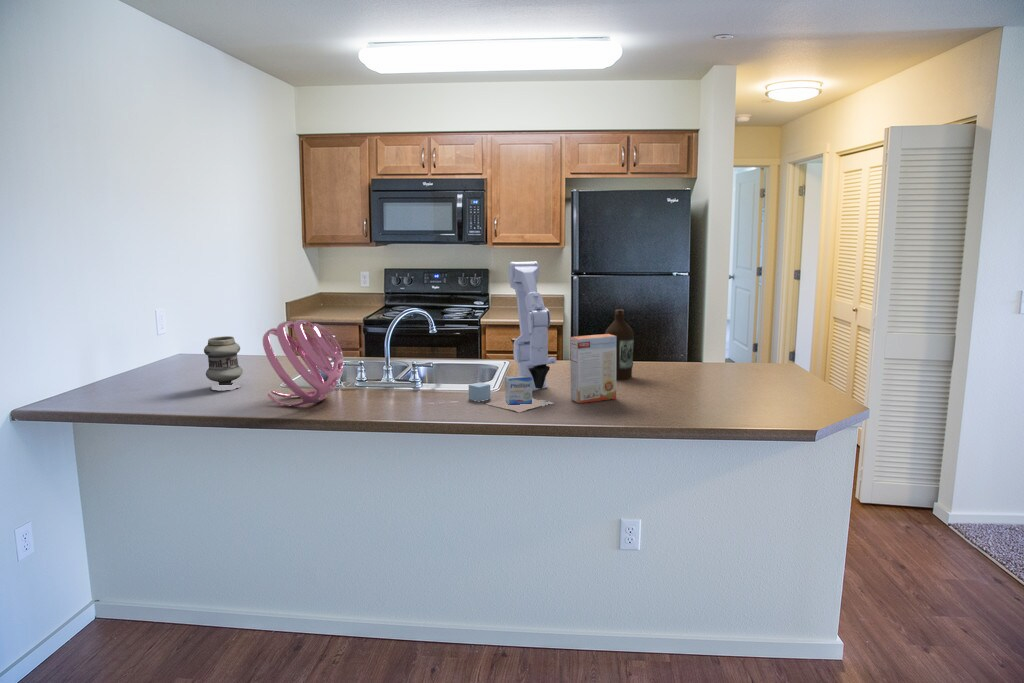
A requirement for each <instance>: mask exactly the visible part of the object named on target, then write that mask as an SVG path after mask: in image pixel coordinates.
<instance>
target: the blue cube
mask: <svg viewBox="0 0 1024 683" xmlns="http://www.w3.org/2000/svg"><path fill="white" fill-rule="evenodd" d="M469 399H472V400H476V401H482V400H486V399H490V400H491V384H489V383H484V382H475V383H471V384H468V400H469ZM472 400H471V401H472ZM476 401H475V402H476ZM486 401H487V400H486ZM482 402H483V401H482Z"/></svg>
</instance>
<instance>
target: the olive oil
mask: <svg viewBox="0 0 1024 683" xmlns="http://www.w3.org/2000/svg"><path fill="white" fill-rule="evenodd" d="M614 312H615V313H614V321H612V323H611V324H610V325H609V326H608V327H607V328H606V330H605V333H604V334H611V335H614V336H617V337H616V338H617V339H616V381H624V380H625V381H626V380H630V379H632V376H633V372H632V371H633V366H634V362H633V358H634V346H635V345H634V343H635V342H634V341H635V334H634V331H633V329H632V327H630V325H629V324H628V323H627V322H626V321H625V309H615V310H614Z"/></svg>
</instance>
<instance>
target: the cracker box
mask: <svg viewBox="0 0 1024 683" xmlns="http://www.w3.org/2000/svg"><path fill="white" fill-rule="evenodd" d="M616 337H617V336H614V335H611V334H605V333H603V334H591V335H578V336H570V339H569V340H570V341H569V342H570V343H569V344H570V349H569V350H570V351H569V352H570V401H573V402H574V403H577V404H584V403H595V402H601V401H602V400H603V401H611V400H610V399H612V400H616V399H617V380H616V339H617V338H616Z"/></svg>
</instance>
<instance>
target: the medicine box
mask: <svg viewBox="0 0 1024 683" xmlns="http://www.w3.org/2000/svg"><path fill="white" fill-rule="evenodd" d="M504 389H505V391H504V392H505V393H504V395H505V396H504V398H505V402H506V403H507V404H508V405H520V404H532V398H533V391H532V377H531V376H529V375H520V376H518V375H509V376H508V375H506V376H504Z"/></svg>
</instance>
